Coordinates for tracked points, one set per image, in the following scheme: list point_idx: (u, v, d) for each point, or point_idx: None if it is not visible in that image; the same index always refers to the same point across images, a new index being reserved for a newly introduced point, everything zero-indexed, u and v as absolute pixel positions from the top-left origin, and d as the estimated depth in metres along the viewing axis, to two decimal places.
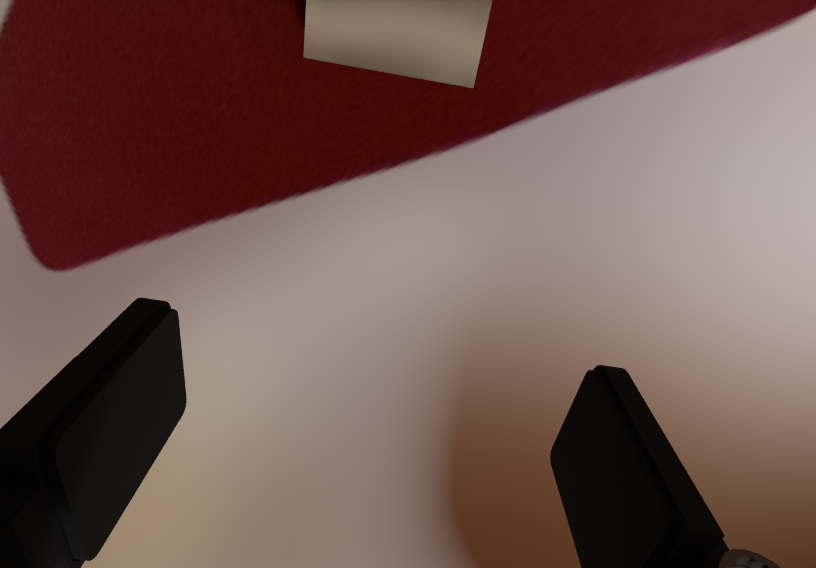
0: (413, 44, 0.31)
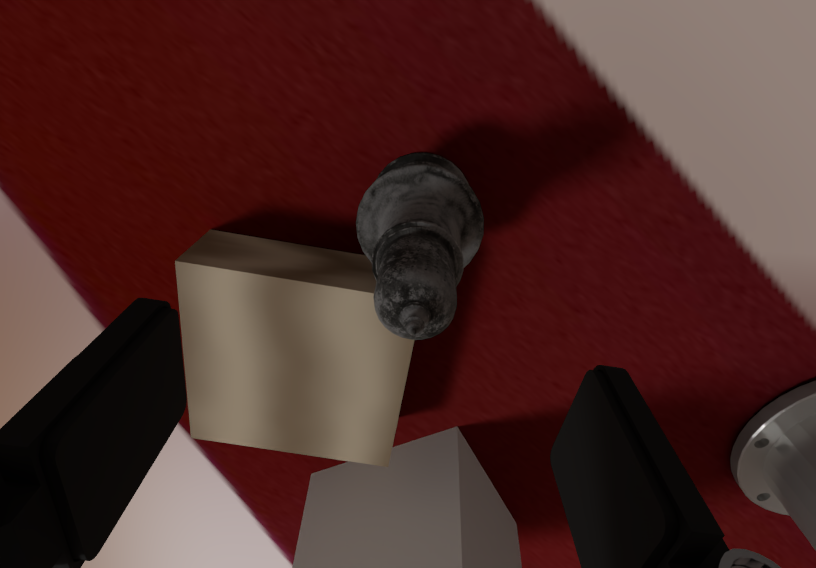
0: (222, 384, 0.26)
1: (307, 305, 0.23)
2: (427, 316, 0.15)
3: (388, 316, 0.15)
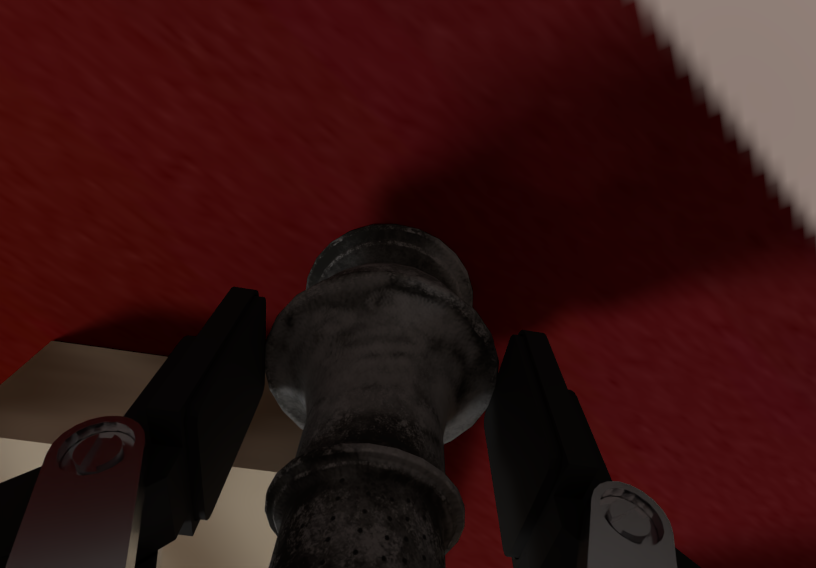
0: None
1: None
2: None
3: None
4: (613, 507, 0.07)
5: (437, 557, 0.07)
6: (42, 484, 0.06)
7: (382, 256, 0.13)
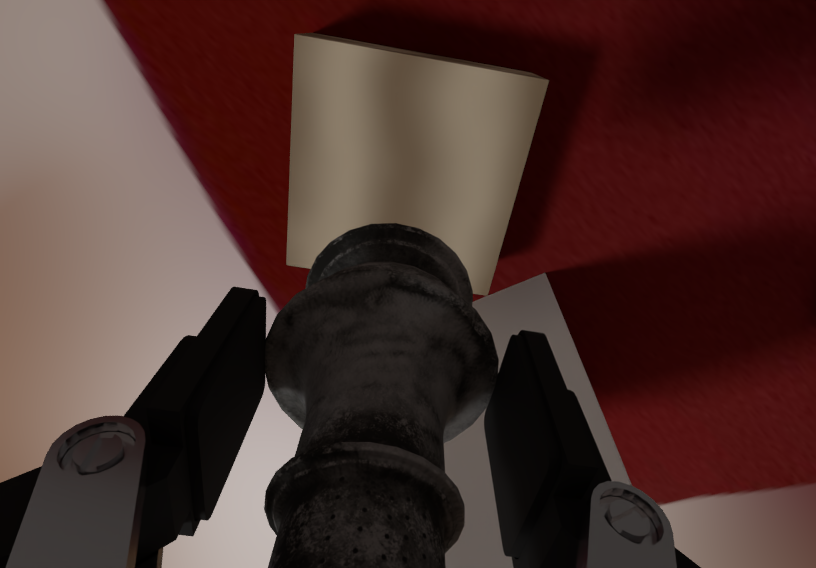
0: (327, 194, 0.25)
1: (428, 89, 0.22)
2: None
3: None
4: (613, 507, 0.07)
5: (437, 556, 0.07)
6: (42, 484, 0.06)
7: (382, 255, 0.13)
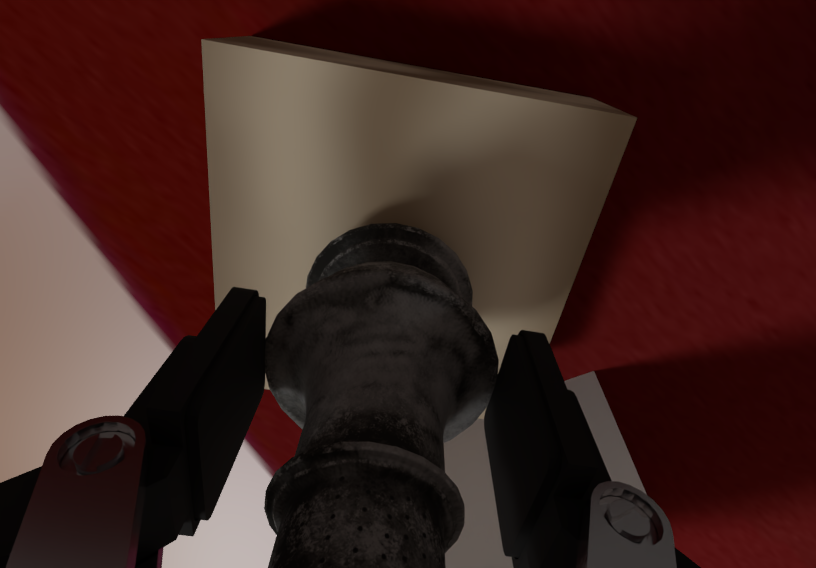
0: (273, 288, 0.16)
1: (432, 130, 0.13)
2: None
3: None
4: (613, 507, 0.07)
5: (437, 555, 0.07)
6: (43, 484, 0.06)
7: (382, 255, 0.13)
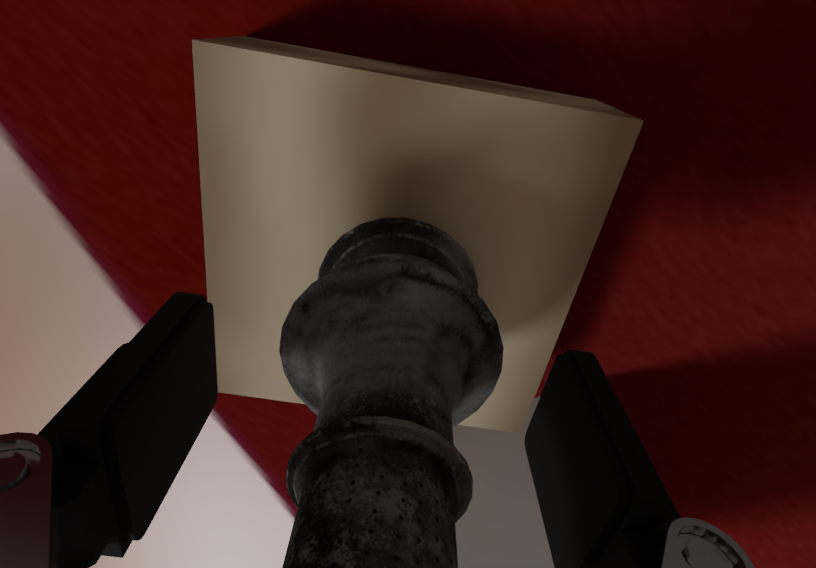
0: (268, 296, 0.15)
1: (431, 134, 0.13)
2: None
3: None
4: (691, 544, 0.07)
5: (448, 520, 0.08)
6: None
7: (392, 248, 0.14)
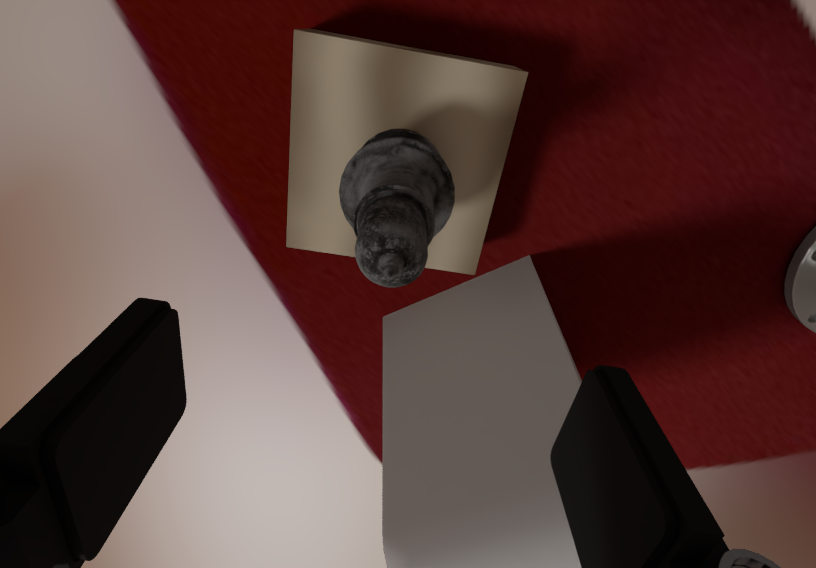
0: (324, 179, 0.27)
1: (417, 80, 0.24)
2: (401, 263, 0.17)
3: (368, 264, 0.17)
4: None
5: (423, 220, 0.19)
6: None
7: None
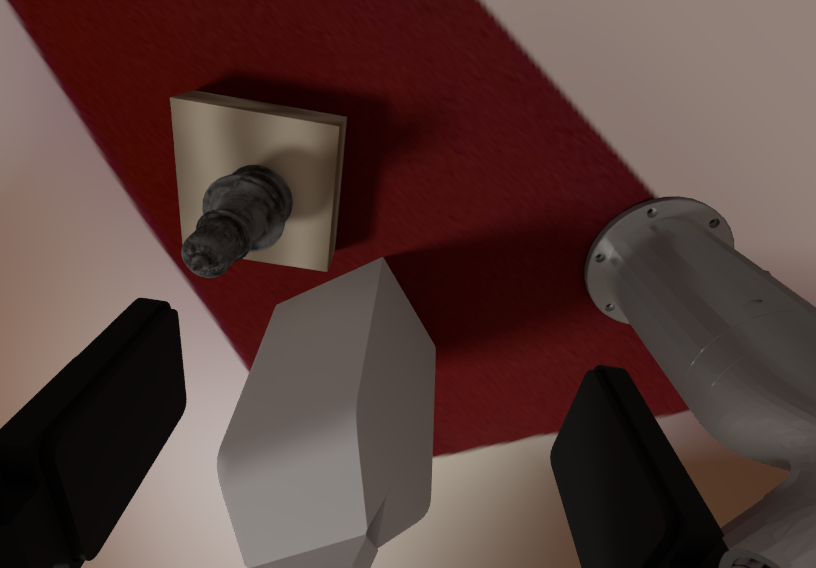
0: None
1: (261, 131, 0.34)
2: (206, 262, 0.26)
3: (187, 263, 0.27)
4: None
5: (235, 234, 0.28)
6: None
7: (251, 177, 0.35)
